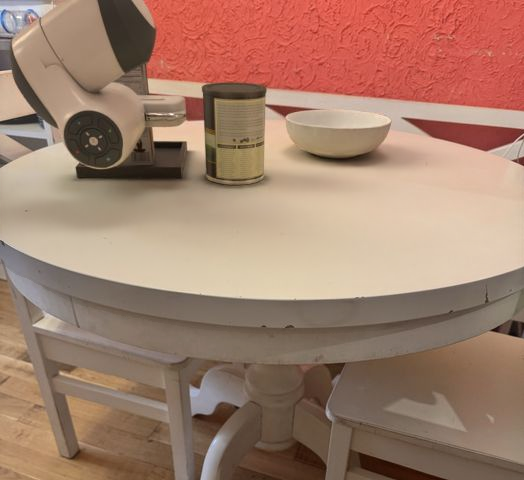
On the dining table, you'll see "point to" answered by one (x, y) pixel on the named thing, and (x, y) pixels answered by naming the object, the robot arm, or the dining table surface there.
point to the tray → (165, 165)
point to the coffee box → (145, 145)
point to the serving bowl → (337, 132)
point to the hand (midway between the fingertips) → (128, 102)
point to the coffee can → (234, 132)
